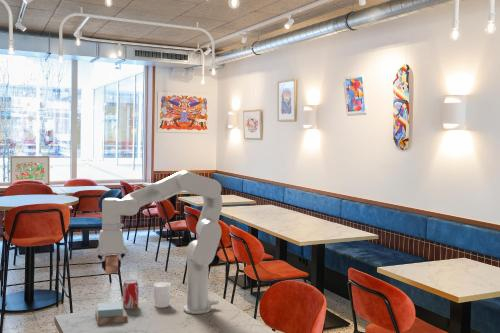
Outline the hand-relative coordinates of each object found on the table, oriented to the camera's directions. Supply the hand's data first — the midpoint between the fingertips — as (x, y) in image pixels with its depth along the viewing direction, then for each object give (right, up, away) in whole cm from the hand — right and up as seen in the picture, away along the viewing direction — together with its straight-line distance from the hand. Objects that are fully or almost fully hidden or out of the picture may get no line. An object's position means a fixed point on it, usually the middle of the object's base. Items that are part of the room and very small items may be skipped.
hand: (111, 268), depth 222 cm
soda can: (+5, -21, +16) cm, 27 cm away
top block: (-1, -19, +1) cm, 19 cm away
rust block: (0, -1, 0) cm, 1 cm away
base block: (0, -22, +1) cm, 22 cm away
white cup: (+18, -21, +19) cm, 34 cm away
